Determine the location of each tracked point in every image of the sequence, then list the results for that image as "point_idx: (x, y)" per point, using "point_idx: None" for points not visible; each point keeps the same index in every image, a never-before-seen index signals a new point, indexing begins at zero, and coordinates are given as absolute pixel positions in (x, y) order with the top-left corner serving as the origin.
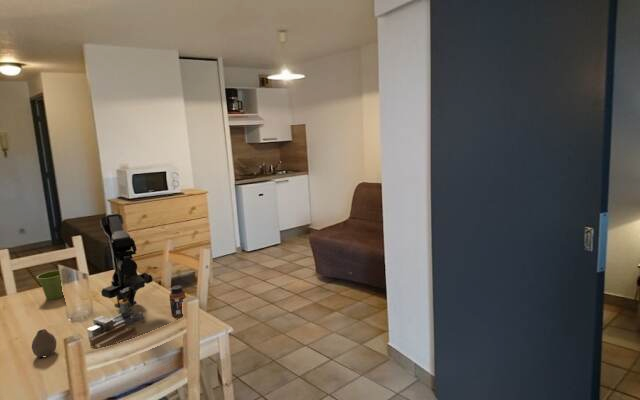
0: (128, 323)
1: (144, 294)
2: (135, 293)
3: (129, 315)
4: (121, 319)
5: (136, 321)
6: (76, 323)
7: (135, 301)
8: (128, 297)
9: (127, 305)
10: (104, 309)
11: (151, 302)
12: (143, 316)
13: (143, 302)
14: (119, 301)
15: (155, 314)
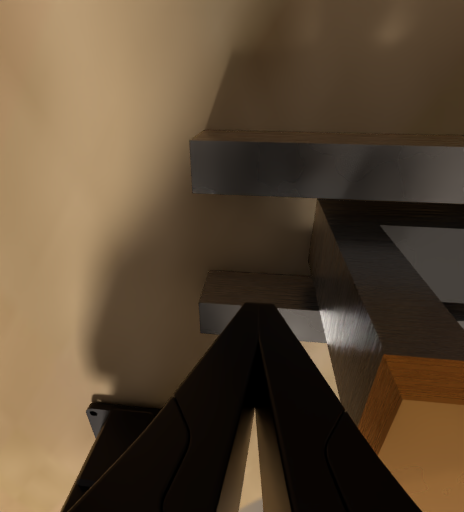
0: (405, 136)
1: (9, 434)
2: (96, 489)
3: (329, 224)
4: (439, 228)
5: (296, 133)
6: None
7: (88, 413)
8: (376, 477)
9: (379, 312)
10: (244, 474)
11: (14, 328)
12: (204, 132)
13: (56, 371)
14: (459, 492)
15: (84, 83)
